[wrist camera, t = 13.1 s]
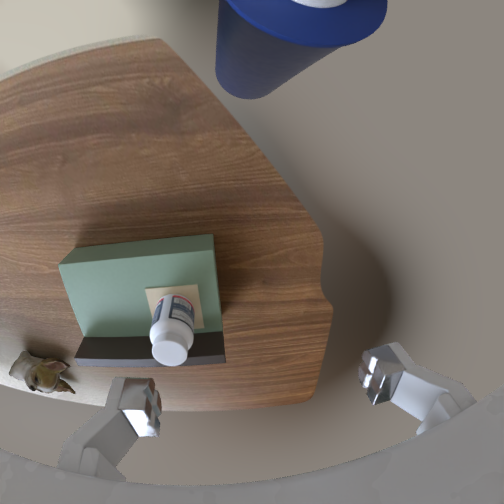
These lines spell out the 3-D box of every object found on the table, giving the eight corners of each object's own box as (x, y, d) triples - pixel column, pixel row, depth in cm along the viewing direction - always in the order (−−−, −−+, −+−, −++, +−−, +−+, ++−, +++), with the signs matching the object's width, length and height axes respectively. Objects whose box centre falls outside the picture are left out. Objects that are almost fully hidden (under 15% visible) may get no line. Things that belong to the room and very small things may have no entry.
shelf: (74, 247, 38) (41, 281, 28) (213, 233, 40) (213, 267, 30) (97, 322, 43) (77, 365, 33) (221, 315, 46) (225, 363, 36)
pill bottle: (164, 328, 38) (156, 373, 30) (150, 297, 36) (137, 340, 28) (200, 320, 38) (199, 366, 30) (187, 288, 36) (183, 331, 28)
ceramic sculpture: (-1, 362, 34) (62, 385, 38) (14, 335, 42) (73, 354, 46) (12, 394, 38) (70, 415, 42) (24, 368, 46) (78, 385, 50)
